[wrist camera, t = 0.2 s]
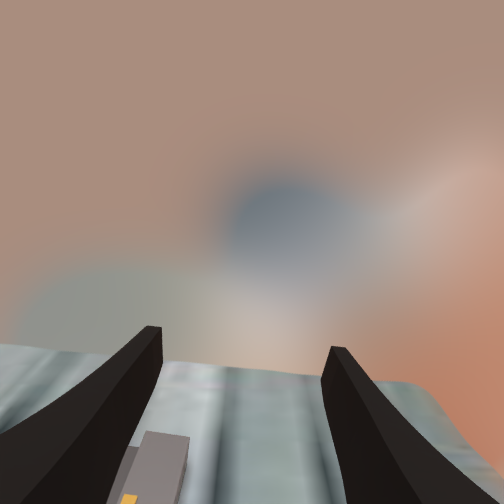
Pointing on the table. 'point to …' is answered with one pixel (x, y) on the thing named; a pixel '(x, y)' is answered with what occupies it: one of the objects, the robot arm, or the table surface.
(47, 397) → the table surface
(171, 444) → the socket panel
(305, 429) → the table surface
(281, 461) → the table surface
